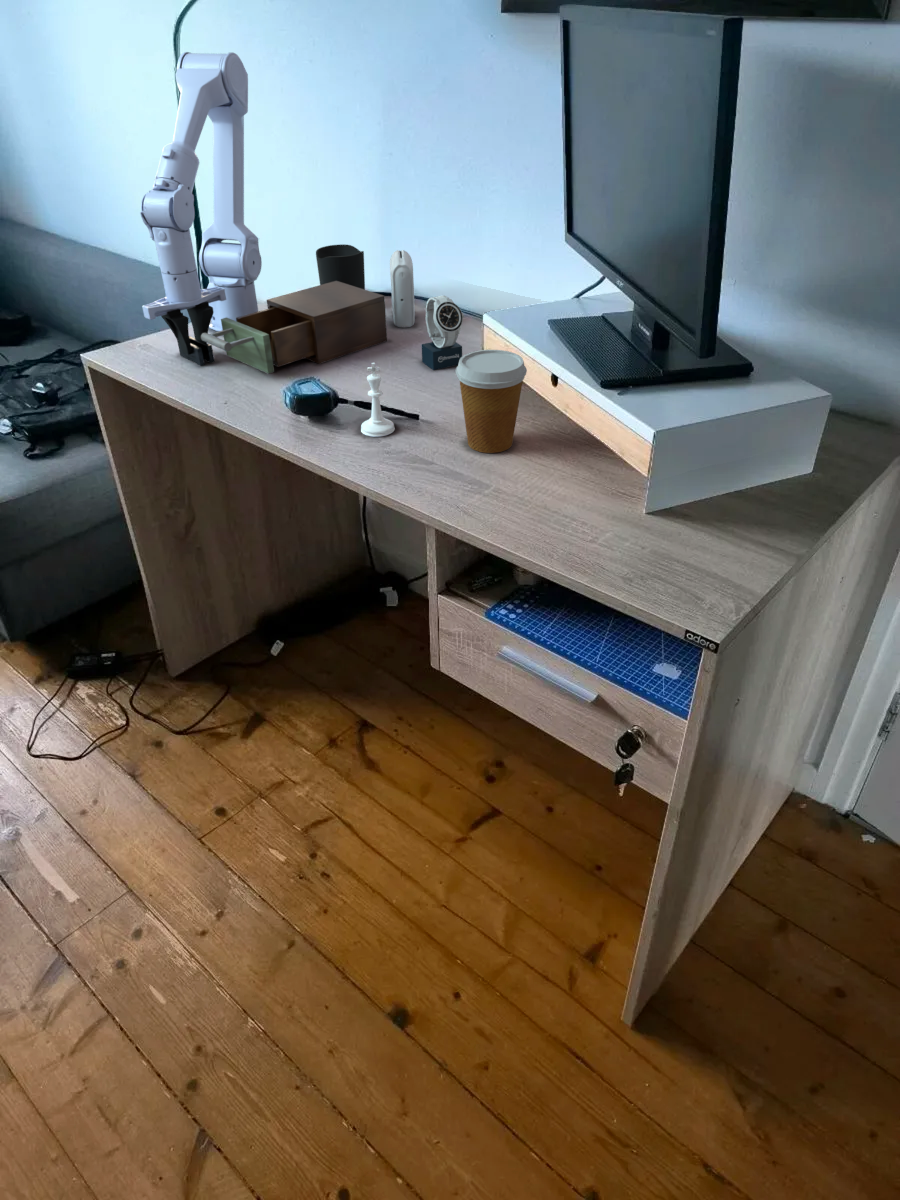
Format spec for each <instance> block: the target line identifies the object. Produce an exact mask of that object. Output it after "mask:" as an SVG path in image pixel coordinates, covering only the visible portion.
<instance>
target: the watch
mask: <svg viewBox="0 0 900 1200" xmlns="http://www.w3.org/2000/svg"><path fill="white" fill-rule="evenodd" d="M424 317H425V324H426V329H427V334H428V336H429V339H431V342H426V343H421V363H422V364H424V365H425V366H427V367H428V368H430V369H431V370H433V371H436V370H441V369H445V368H446V369H447V368H452V367H457V366H458V364H459V360H460V358H461V357H462V356H463V345H461V344H459V343H458V342H457V341H458V337H459V335H460V333H461V327H462V325H463V322H464V317H465V314H464V312H462V309H461V308H460V307H459V305H458V304H457V303H455V302H454V301H453V299H452V298H450V297H448V296H447V295H438V296H432V297H429V298H428V299H427V301H426V304H425V315H424Z"/></svg>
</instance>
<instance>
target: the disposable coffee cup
mask: <svg viewBox="0 0 900 1200" xmlns="http://www.w3.org/2000/svg"><path fill="white" fill-rule="evenodd" d="M527 373H528V369H527V367H526V366H525V361H524V359H523V357H522V355H521V356H520V355H519V354H518V353H515V352H513V351H509V350H502V349H480V350H474V351H469V352H468V353H465V354H464V355H462V357H461V358H460V360H459V364H458V365H456V368H455V374H456V377H457V379H458V380H459V386H460V387H459V388H460V394H461V402H462V403H461V404H462V410H463V415H464V417H463V419H464V424H465V432H466V439H467V445H468V447H469V448H470V449H471V450H473V451H476V452H479V453H483V454H484V453H485V454H495V453H501V452H505V451H506V450H509V449H510V448H511V447H512V446H513V441H514V437H515V436H514V435H515V429H516V423H517V418H518V417H517V416H518V412H519V406H520V405H519V404H520V399H521V393H522V387H523V381H524V379H525V376H526V375H527Z"/></svg>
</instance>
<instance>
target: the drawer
mask: <svg viewBox="0 0 900 1200" xmlns="http://www.w3.org/2000/svg"><path fill="white" fill-rule="evenodd" d="M221 324H222V329H223V330H222V331H218V332H217V331H215V332H212V333H211V332H210V333H209V332H208V333H202V335H201V339H202V340H203V341H205V342H207V344H210V345H212V346H214V347H216V348H218V349H220V350H223V351H225V352H226V355H227V357H230V358H232V359H234V360H237V361H239V362H241V363H243V364H246V365H247V366H250V367H252V368H255V369H257V370H258V371H261V372H263V373H266V374H268V375H269V374H271V373H275V368H274V366H275V367H278V368H279V367H282V366H285V365H288V364H292V363H294V362H297V361H300V360H303V359H306V358H307V357H310V356H313V355H315V346H314V337H313V328H312V320H309V319H307V318H304V317H301V316H298V315H296V314H293V313H290V312H287V311H285V310H282V309H279V308H276V307H272V308H269V309H268V308H266V309H262V310H258V312H255V313H251V314H247V315H244V316H240V317H237V318H236V321H234V320H232V319H229V318H223V319H221ZM221 336H223V339H222V338H219V337H221Z"/></svg>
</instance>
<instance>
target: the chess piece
mask: <svg viewBox="0 0 900 1200" xmlns="http://www.w3.org/2000/svg"><path fill="white" fill-rule="evenodd" d="M366 369H367V372H371V374H368V375H367V376H366V379H367V382H368V384H369V387H370V390H368V391H367V396H368V397H371V398H372V399H371V415H370V417H369V419H366V420H365V421H363V422H362V423H361V425H360V432H361V433H362V434H363V435H365V436H367V437H374V438H379V437H380V438H381V437H385V436H389V435H391V434H393V433H394V431H395V430H396V429H395V424H394V422H393V421H392V420H390V419H388V418H385V416H384V415H383V412H382V407H381V401H380V397H381V396H383V394H384V392H383V390H382V389H380V384H381V381H382V375H380V374H379V373H376V372H380V371H381V369H380V366H376V362H371V366H369V367H367V368H366Z"/></svg>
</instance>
